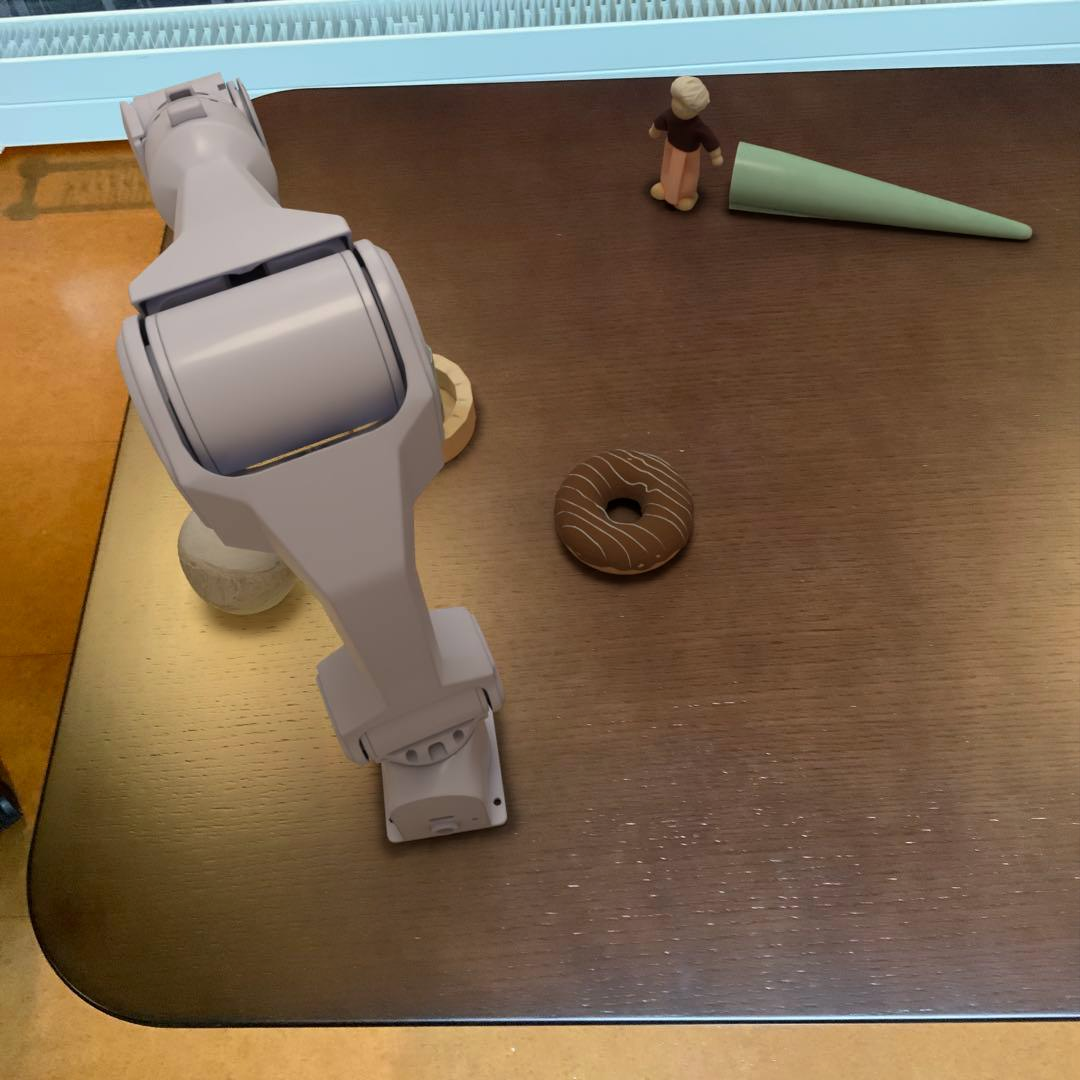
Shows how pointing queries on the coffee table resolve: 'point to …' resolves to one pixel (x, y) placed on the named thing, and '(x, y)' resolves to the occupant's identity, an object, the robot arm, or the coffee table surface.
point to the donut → (622, 542)
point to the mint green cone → (849, 197)
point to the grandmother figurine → (684, 143)
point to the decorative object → (231, 571)
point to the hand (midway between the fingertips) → (303, 403)
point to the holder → (453, 407)
